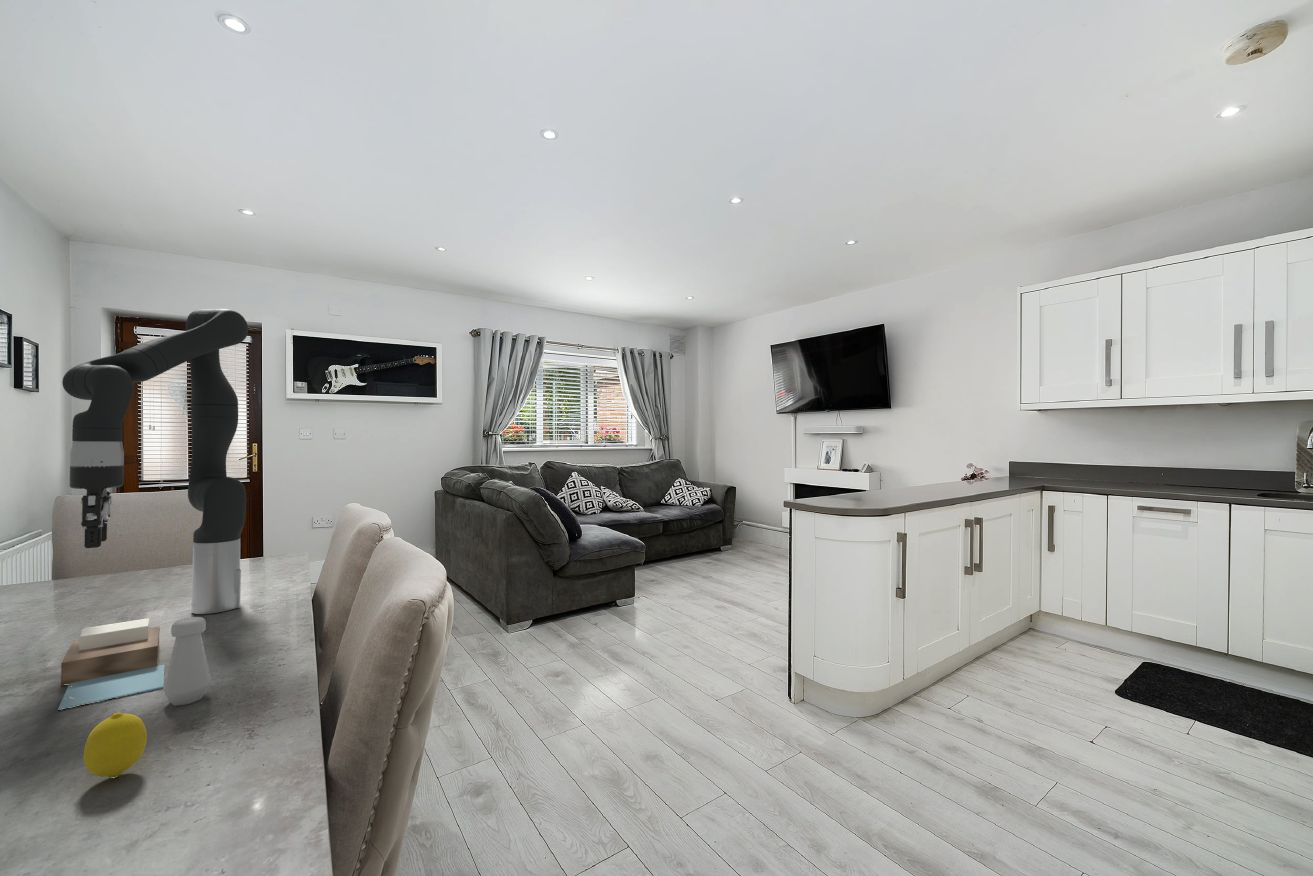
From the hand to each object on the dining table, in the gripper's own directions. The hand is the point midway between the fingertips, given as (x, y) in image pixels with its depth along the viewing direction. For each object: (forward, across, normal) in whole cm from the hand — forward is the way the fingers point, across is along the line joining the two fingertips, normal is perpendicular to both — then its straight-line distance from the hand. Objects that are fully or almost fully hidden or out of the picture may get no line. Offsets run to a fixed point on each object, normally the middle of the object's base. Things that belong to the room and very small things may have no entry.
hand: (96, 544), depth 107 cm
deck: (+21, -13, -4) cm, 25 cm away
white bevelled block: (+17, -11, -4) cm, 21 cm away
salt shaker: (+21, -40, -15) cm, 47 cm away
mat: (+21, -26, -5) cm, 34 cm away
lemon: (+21, -61, -8) cm, 65 cm away
